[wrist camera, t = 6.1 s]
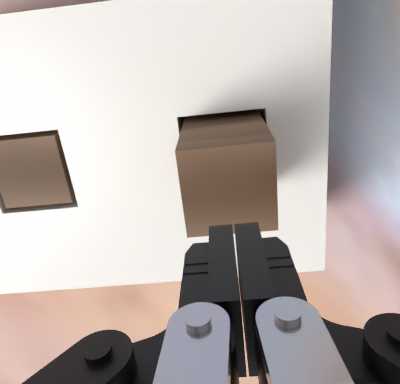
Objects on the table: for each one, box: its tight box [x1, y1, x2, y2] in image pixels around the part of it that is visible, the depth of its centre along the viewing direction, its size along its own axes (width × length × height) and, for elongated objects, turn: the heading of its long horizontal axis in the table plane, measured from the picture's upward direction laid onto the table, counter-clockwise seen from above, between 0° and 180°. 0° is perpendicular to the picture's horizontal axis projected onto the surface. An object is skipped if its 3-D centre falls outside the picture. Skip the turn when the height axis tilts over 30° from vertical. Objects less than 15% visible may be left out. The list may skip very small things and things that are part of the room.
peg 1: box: [0, 130, 76, 208], centre depth 24 cm, size 4×4×7 cm
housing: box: [0, 0, 333, 294], centre depth 24 cm, size 16×22×8 cm
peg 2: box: [175, 109, 278, 238], centre depth 19 cm, size 4×4×7 cm
